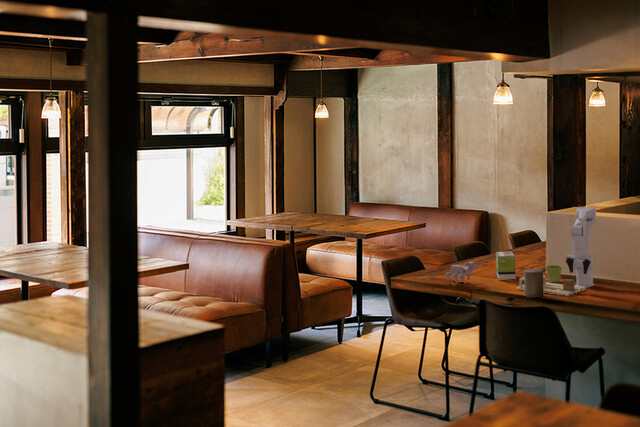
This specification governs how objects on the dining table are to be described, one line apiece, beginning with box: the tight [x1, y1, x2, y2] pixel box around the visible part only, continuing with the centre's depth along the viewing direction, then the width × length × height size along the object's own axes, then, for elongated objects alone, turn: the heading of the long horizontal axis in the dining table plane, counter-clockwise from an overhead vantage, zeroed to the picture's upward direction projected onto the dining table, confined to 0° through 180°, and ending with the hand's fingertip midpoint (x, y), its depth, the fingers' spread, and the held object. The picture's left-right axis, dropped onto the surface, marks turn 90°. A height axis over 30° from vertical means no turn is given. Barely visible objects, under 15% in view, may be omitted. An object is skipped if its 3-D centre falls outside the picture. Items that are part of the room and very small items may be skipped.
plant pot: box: [544, 264, 563, 283], centre depth 452 cm, size 9×9×9 cm
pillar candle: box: [523, 268, 544, 299], centre depth 417 cm, size 10×10×15 cm
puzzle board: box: [516, 282, 586, 297], centre depth 431 cm, size 20×30×2 cm, turn 46°
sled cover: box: [518, 275, 547, 287], centre depth 435 cm, size 14×8×6 cm, turn 136°
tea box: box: [495, 251, 517, 281], centre depth 467 cm, size 15×10×15 cm
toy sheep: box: [445, 261, 480, 283], centre depth 454 cm, size 20×11×14 cm, turn 49°
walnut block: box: [562, 278, 575, 290], centre depth 422 cm, size 4×4×5 cm
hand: (578, 273), depth 423 cm, fingers open, 7 cm apart
